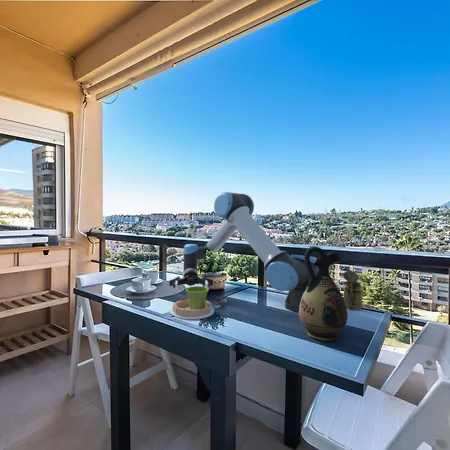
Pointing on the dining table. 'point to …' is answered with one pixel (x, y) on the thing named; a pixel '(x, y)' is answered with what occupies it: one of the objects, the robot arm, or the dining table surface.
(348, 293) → the stone figurine
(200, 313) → the ring collar
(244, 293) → the dining table surface
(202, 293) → the plant pot
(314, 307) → the ceramic jug
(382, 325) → the dining table surface
